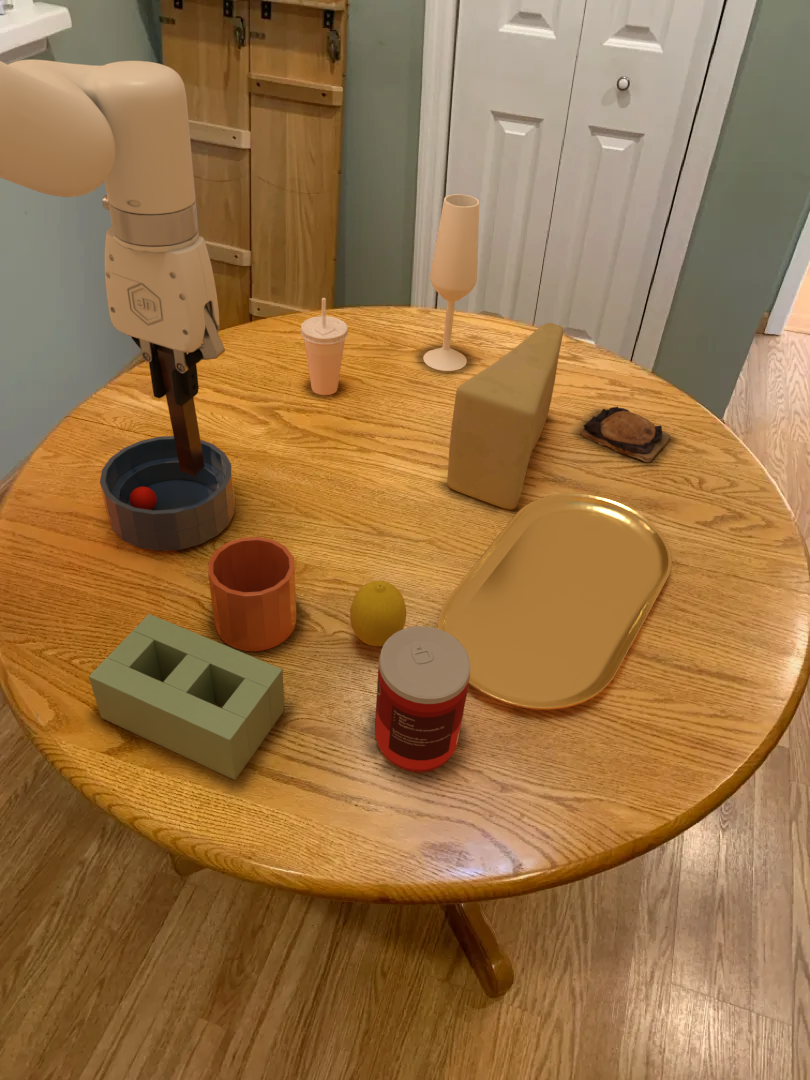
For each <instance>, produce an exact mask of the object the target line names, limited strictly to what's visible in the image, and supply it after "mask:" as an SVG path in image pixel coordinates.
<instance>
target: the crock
mask: <svg viewBox="0 0 810 1080" xmlns="http://www.w3.org/2000/svg"><path fill="white" fill-rule="evenodd" d="M207 575H208V583H209V591H210V599H211V606H212V613H213V621H214V627H215V631H216V633H217V635H218V637H220V639H221V640H222V641H223V642H224V644H227V646H229V647H230V648H233V649H235V650H238V651H244V652H262V651H267V650H271V649H273V648H276V647H277V646H279V645H281V644H283V643H284V642H285V641H287V640H288V639H289V638H290V636H291V635H292V634H293V632H294V631H295V628H296V624H297V595H296V594H297V593H296V568H295V557H294V555H293V554H292V553H291V551H290V550H289V549H288V547H287V546H285V545H284V544H282V543H280V542H279V541H277V540H275V539H271V538H266V537H262V536H246V537H245V536H244V537H240V538H237V539H234V540H231V541H228V542H225V544H223V545H222V546H220V547H219V548H217V549H216V550H215V551H214V552H213V553H212V555H211V557H210V559H209V560H208V562H207Z"/></svg>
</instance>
